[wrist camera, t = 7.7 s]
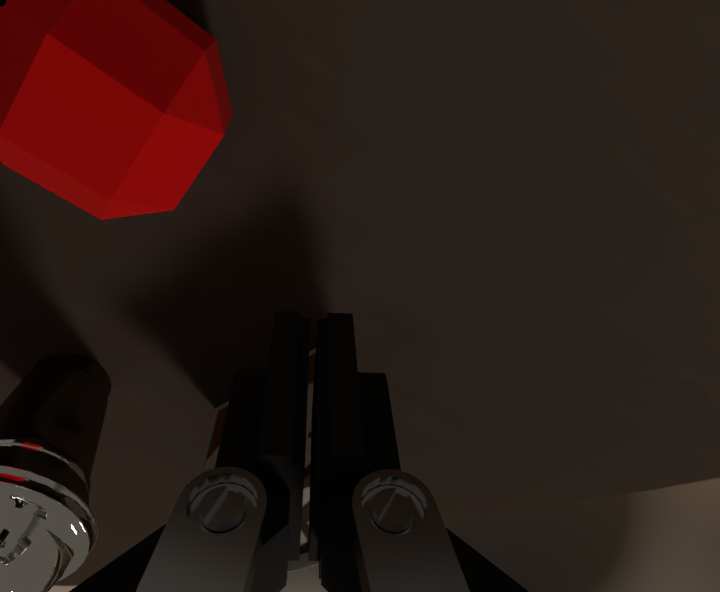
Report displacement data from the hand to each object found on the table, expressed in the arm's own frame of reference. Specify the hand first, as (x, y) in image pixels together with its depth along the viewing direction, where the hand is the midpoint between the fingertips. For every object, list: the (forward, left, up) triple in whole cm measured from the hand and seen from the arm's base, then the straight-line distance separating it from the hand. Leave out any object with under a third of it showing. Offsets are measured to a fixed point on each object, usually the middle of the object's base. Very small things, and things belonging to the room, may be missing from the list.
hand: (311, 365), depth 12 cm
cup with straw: (+20, +6, -17) cm, 27 cm away
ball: (+5, -6, -17) cm, 19 cm away
